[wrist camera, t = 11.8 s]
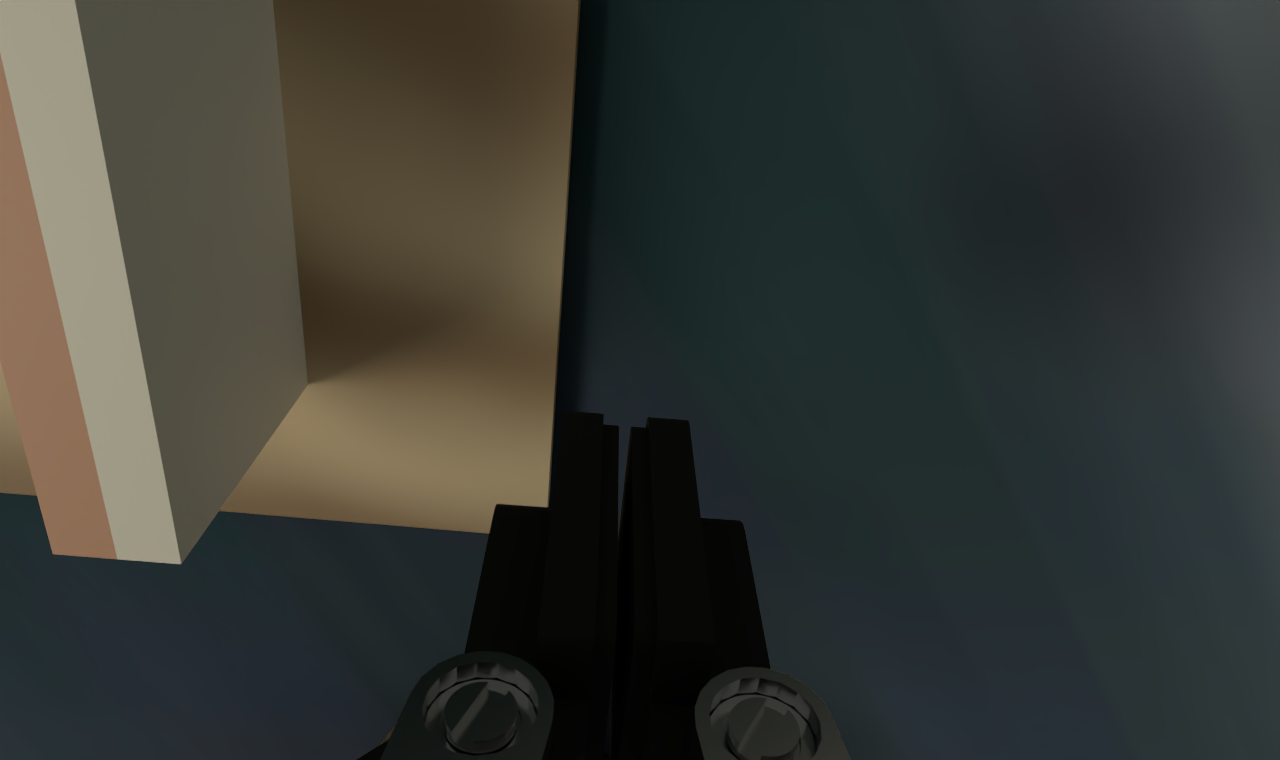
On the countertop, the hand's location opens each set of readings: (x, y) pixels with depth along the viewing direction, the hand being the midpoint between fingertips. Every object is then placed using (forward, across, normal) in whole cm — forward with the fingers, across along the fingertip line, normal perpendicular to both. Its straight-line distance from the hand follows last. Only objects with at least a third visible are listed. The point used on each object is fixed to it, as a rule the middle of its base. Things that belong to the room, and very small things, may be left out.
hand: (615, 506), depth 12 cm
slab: (+8, +8, -2) cm, 11 cm away
